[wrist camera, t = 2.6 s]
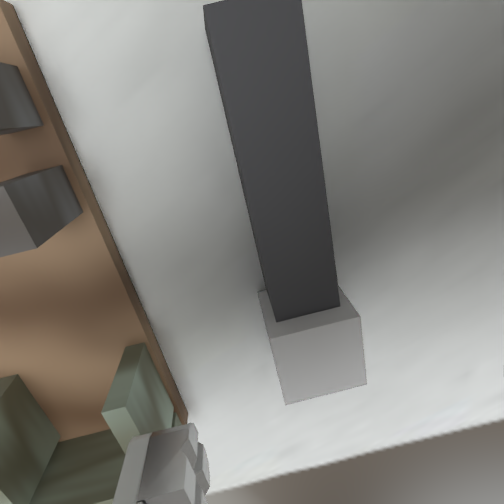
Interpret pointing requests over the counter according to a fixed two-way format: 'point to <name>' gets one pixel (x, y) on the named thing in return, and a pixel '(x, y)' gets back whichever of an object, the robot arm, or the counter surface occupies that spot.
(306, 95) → the dark grey square bar
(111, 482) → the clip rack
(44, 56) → the counter surface
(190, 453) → the robot arm
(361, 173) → the counter surface
